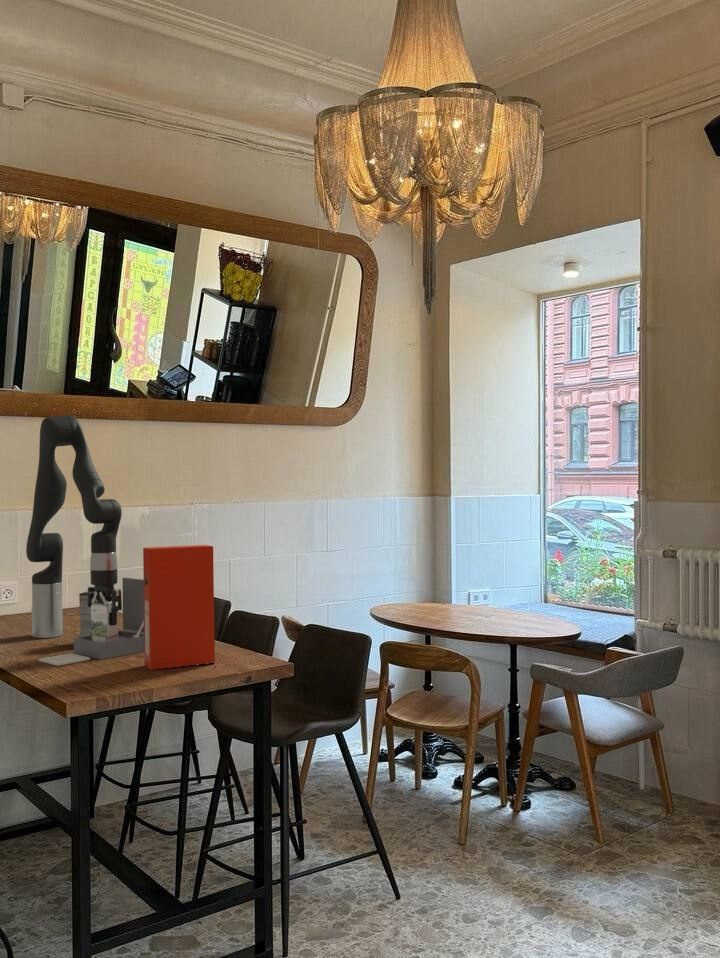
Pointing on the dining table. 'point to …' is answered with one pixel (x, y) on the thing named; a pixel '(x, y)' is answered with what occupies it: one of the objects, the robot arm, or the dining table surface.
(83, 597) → the coffee box
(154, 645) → the file binder
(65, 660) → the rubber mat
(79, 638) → the case
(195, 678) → the dining table surface
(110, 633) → the syrup box
